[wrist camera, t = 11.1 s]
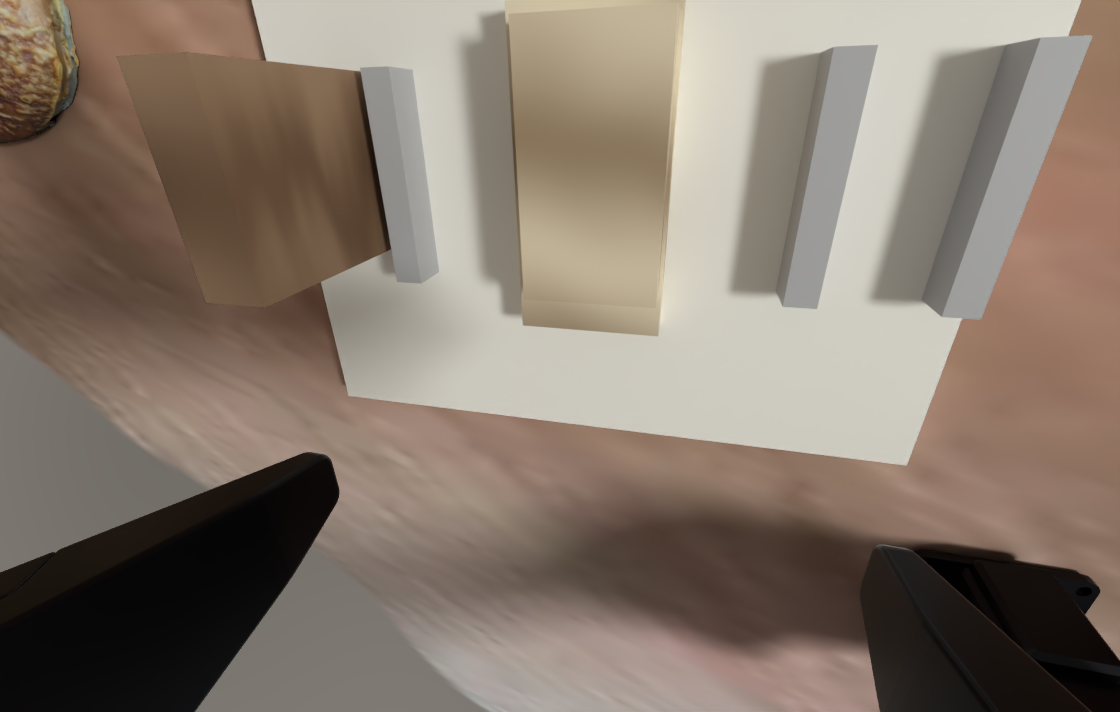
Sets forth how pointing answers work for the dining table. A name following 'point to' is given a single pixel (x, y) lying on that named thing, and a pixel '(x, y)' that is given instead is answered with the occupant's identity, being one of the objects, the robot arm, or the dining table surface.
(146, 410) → the dining table surface
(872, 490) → the dining table surface
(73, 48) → the bread roll
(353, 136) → the walnut panel
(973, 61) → the rack
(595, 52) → the offcut stack
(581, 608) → the dining table surface
